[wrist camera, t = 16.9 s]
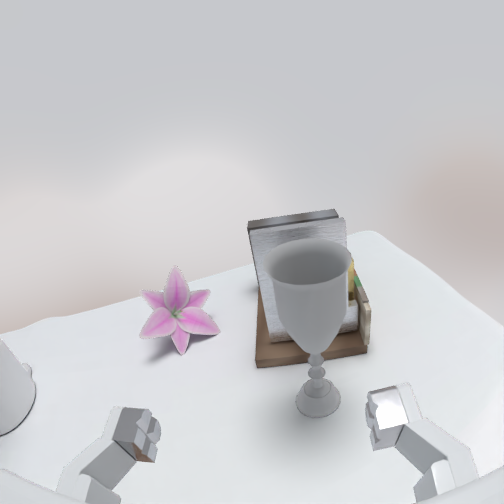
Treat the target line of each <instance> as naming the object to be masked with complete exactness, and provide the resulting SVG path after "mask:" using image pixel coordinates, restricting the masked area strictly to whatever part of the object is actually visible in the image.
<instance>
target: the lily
mask: <svg viewBox="0 0 504 504" xmlns="http://www.w3.org/2000/svg"><path fill="white" fill-rule="evenodd" d="M140 294H141V296H142V297H143V298H144V300H145V301H146V302H147V303H148V305H149V306H150V307H151V308H152V309H153V310H154V312H153V313H152V314H151V315H150V317H149V318H148V320H147V321H146V323H145V325H144V326H143V328H142V330H141V332H140V338H142V339H150V338H157V337H163V336H167V335H170V336H171V338H172V340H173V342H174V344H175V346H176V348H177V350H178V351H179V353H180V354H181V355H184V353H185V351H186V348H187V346H188V342H189V338H190V333H192V334H201V335H218V334H219V333H220V330H219V328H218V326H217V325H216V324H215V322H214V321H213V320H212V319H211V318H210V316H209V315H208V314H207V313H206V312H205V311H203V310H202V309H201V308H202V307H203V306H204V304H205V302H206V301H207V299H208V297H209V295H210V290H197V291H192V292H190V290H189V287H188V284H187V282H186V280H185V278H184V276H183V274H182V272H181V270H180V269H179V268H178V266H176V265H174V266H173V267H172V269H171V271H170V273H169V276H168V279H167V282H166V285H165V288H164V292H159V291H153V290H140Z"/></svg>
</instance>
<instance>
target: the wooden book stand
mask: <svg viewBox="0 0 504 504" xmlns="http://www.w3.org/2000/svg"><path fill="white" fill-rule="evenodd" d="M334 218H339V217H338V214H337V212H336V211H335V209H330V210H323V211H316V212H309V213H301V214H294V215H287V216H280V217H273V218H267V219H260V220H253V221H248V227H247V229H248V234H249V239H250V230H256V229H263V228H270V227H277V226H284V225H291V224H298V223H305V222H312V221H319V220H327V219H334ZM250 245H251V240H250ZM251 249H252V245H251ZM252 254H253V250H252ZM253 259H254V255H253ZM254 265H255V260H254ZM255 270H256V265H255ZM256 275H257V270H256ZM257 280H258V275H257ZM258 285H259V280H258ZM354 300H356V302H357V304H358V323H357V330H355V331H349V332H343V333H338V334H337V335H336V337H335V338H334V339H333V341H332V342H331V344H330V345H329V347H328V348H327V349H326V350H325V351H323V352H321V353H320V354H321V356H322V357H323V358H324V360H328V359H334V358H340V357H346V356H352V355H358V354H363V353H367V345H368V344H369V337H370V323H371V308H370V306H369V303H368V302H369V300H368V298H367V296H366V293H365V291H364V289H363V287H362V284H361V282H360V280H359V278H358V276H357V274H356V271H355V269H354ZM310 355H311V354H310V353H307V352H305V351H303V350H302V348H301V347H300V346H299V345H298V344H297V343H296V342H295V341H294V340H287V341H278V342H271V341H270V336H269V331H268V326H267V321H266V316H265V311H264V306H263V301H262V295H261V290H260V285H259V293H258V315H257V336H256V356H255V361H256V365H257V368H262V367H273V366H282V365H291V364H299V363H307V362H308V358H309V357H310Z"/></svg>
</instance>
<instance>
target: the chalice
mask: <svg viewBox="0 0 504 504" xmlns="http://www.w3.org/2000/svg"><path fill="white" fill-rule="evenodd" d="M351 262H352V257H351V253H350V252H349V251H348V249H347V248H346V247H344V246H343V245H341V244H339V243H337V242H334V241H330V240H326V239H317V238H312V239H300V240H294V241H290V242H287V243H284V244H281V245H279V246H278V247H276V248H274V249H273V250H271V251H270V252H269V253H268V254H267V255H266V256H265V258H264V261H263V267H264V271H265V272H266V273H267V274H268V276H269V277H270V278H271V279H272V283H273V288H274V294H275V300H276V306H277V312H278V316H279V319H280V321H281V323H282V324H283V326H284V327H285V329H286V331H287V332H288V334H289V335H290V336H291V337H292V339H293V340H294V341H295V342H296V343H297V344H298V345H299V346H300V347H301V348H302V350H303V351H305V352H307V353H310V354H311V355H310V357H309V358H308V363H309V364H310V365H311V366H312V368H310V369H309V371H308V375H309V377H311V378H312V379H311V380H308V381H307V382H306V383H304V384H303V386H302V388H301V390H300V391H299V393H298V395H297V397H296V405H297V408H298V409H299V411H300V412H301V413H303V414H304V415H306V416H309V417H313V418H320V417H325V416H328V415H329V414H331V413H333V412H334V411H335V410H336V409H337V408H338V406H339V404H340V398H341V397H340V394H339V391H338V390H337V389H336V388H335V386H334V385H333V384H332V382H331V381H329V380H327V379H324V378H322V377H323V376H324V375H325V370H324V368H322V367H321V365H322V364H323V362H324V358H323V357H322V356H321V354H320V353H321V352H323V351H325V350H326V349H327V348H328V347H329V345H330V344H331V342H332V341H333V339H334V338H335V337H336V335H337V334H338V331H339V329H340V327H341V324H342V322H343V320H344V317H345V315H346V312H347V305H346V272H347V271H348V269H349V267H350V264H351Z"/></svg>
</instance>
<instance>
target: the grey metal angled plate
mask: <svg viewBox="0 0 504 504" xmlns="http://www.w3.org/2000/svg"><path fill="white" fill-rule="evenodd" d="M312 238H317V239H326V240H330V241H334V242H337V243H339V244H341V245H343V246H344V247H346V248H347V240H346V223H345V220H344V218H334V219H327V220H319V221H312V222H305V223H298V224H291V225H284V226H277V227H270V228H263V229H256V230H250V240H251V245H252V250H253V255H254V260H255V265H256V270H257V275H258V280H259V285H260V290H261V295H262V301H263V306H264V311H265V316H266V321H267V326H268V331H269V336H270V341H271V342H278V341H287V340H293V339H292V337H291V336H290V335H289V334H288V332H287V331H286V329H285V327H284V326H283V324H282V323H281V321H280V319H279V316H278V312H277V306H276V300H275V294H274V288H273V283H272V279H271V278H270V277H269V276H268V274H267V273H266V272H265V271H264V267H263V261H264V258H265V256H266V255H267V254H268V253H269V252H270V251H271V250H273V249H274V248H276V247H278V246H279V245H281V244H284V243H287V242H290V241H294V240H300V239H312ZM346 305H347V312H346V315H345V317H344V320H343V322H342V324H341V327H340V329H339V331H338V333H343V332H349V331H355V330H357V323H358V304H357V302H356V300H351V301H348V271H347V272H346Z"/></svg>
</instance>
